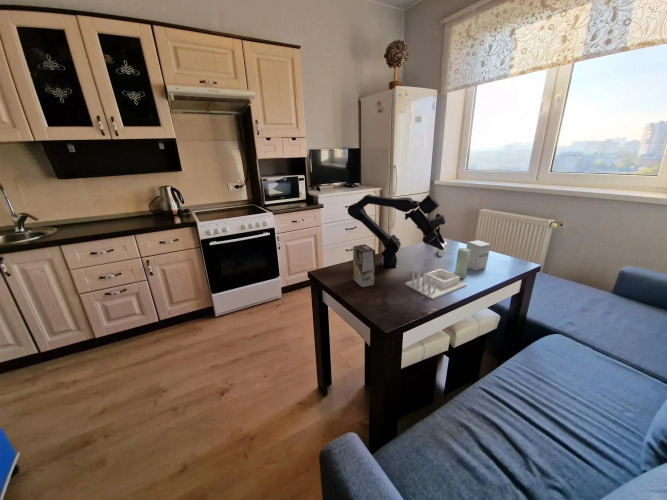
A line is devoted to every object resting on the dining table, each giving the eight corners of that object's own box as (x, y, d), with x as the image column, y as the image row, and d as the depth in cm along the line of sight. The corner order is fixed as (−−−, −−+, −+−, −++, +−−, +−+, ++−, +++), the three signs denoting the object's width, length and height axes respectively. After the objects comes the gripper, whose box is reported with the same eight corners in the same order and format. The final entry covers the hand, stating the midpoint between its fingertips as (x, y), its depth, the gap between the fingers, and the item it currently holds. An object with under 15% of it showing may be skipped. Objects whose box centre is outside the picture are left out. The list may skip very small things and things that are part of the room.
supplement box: (475, 271, 129) (480, 246, 125) (462, 265, 136) (466, 241, 131) (486, 268, 132) (491, 243, 128) (473, 262, 139) (477, 239, 134)
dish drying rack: (432, 299, 106) (434, 284, 103) (404, 284, 118) (405, 270, 115) (466, 286, 116) (468, 271, 113) (437, 273, 128) (439, 260, 125)
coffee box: (374, 284, 118) (376, 250, 112) (362, 287, 116) (362, 252, 110) (364, 276, 126) (365, 243, 120) (352, 279, 124) (352, 245, 118)
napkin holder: (441, 259, 145) (443, 249, 143) (425, 252, 155) (426, 243, 153) (460, 253, 152) (461, 244, 150) (443, 247, 161) (445, 238, 159)
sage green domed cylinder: (457, 278, 122) (461, 251, 118) (452, 274, 127) (456, 248, 122) (467, 278, 122) (472, 251, 118) (462, 273, 127) (466, 247, 122)
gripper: (433, 213, 111) (459, 242, 111) (437, 205, 127) (459, 230, 127) (412, 230, 117) (436, 257, 117) (418, 220, 133) (439, 243, 133)
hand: (443, 246), depth 123 cm, fingers open, 9 cm apart
